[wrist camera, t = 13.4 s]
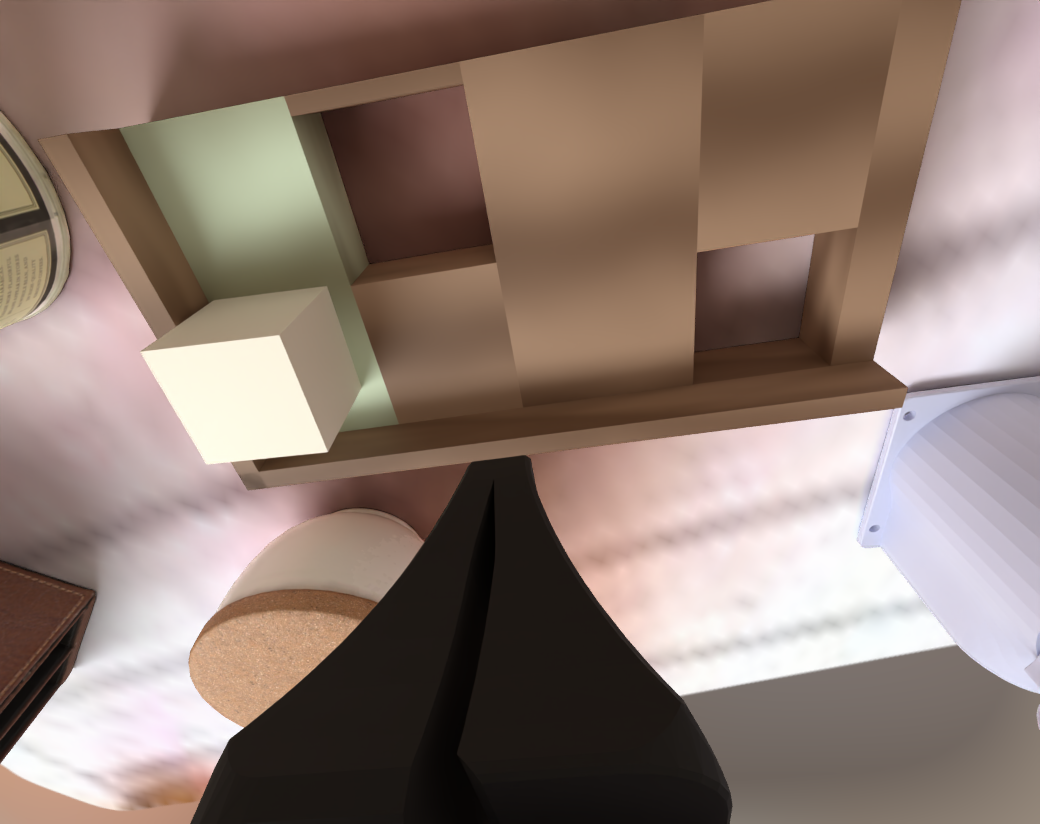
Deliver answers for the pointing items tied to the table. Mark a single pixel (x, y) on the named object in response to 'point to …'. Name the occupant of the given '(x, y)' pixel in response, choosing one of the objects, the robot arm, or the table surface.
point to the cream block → (258, 375)
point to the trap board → (560, 230)
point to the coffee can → (28, 232)
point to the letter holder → (35, 644)
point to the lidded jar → (297, 607)
